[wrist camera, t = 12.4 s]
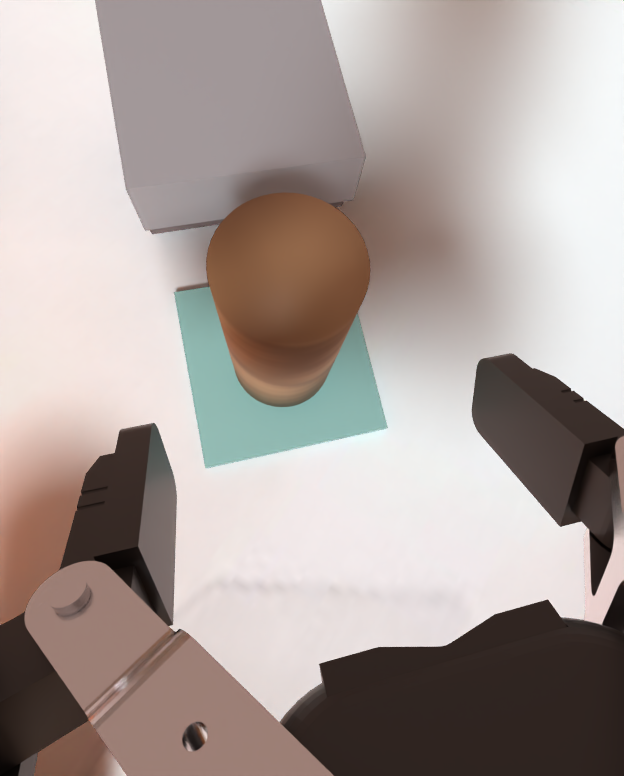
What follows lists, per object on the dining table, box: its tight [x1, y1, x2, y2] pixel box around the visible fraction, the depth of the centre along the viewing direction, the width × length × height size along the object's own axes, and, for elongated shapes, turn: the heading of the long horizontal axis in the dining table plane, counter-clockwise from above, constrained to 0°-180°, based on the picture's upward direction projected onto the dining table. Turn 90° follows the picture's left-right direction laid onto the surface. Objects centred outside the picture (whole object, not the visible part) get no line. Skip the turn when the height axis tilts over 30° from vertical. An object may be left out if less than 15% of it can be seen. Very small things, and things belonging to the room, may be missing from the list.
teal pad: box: [174, 286, 388, 468], centre depth 24 cm, size 9×9×1 cm
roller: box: [206, 193, 370, 407], centre depth 19 cm, size 5×5×10 cm
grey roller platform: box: [95, 0, 366, 234], centre depth 23 cm, size 10×10×6 cm
